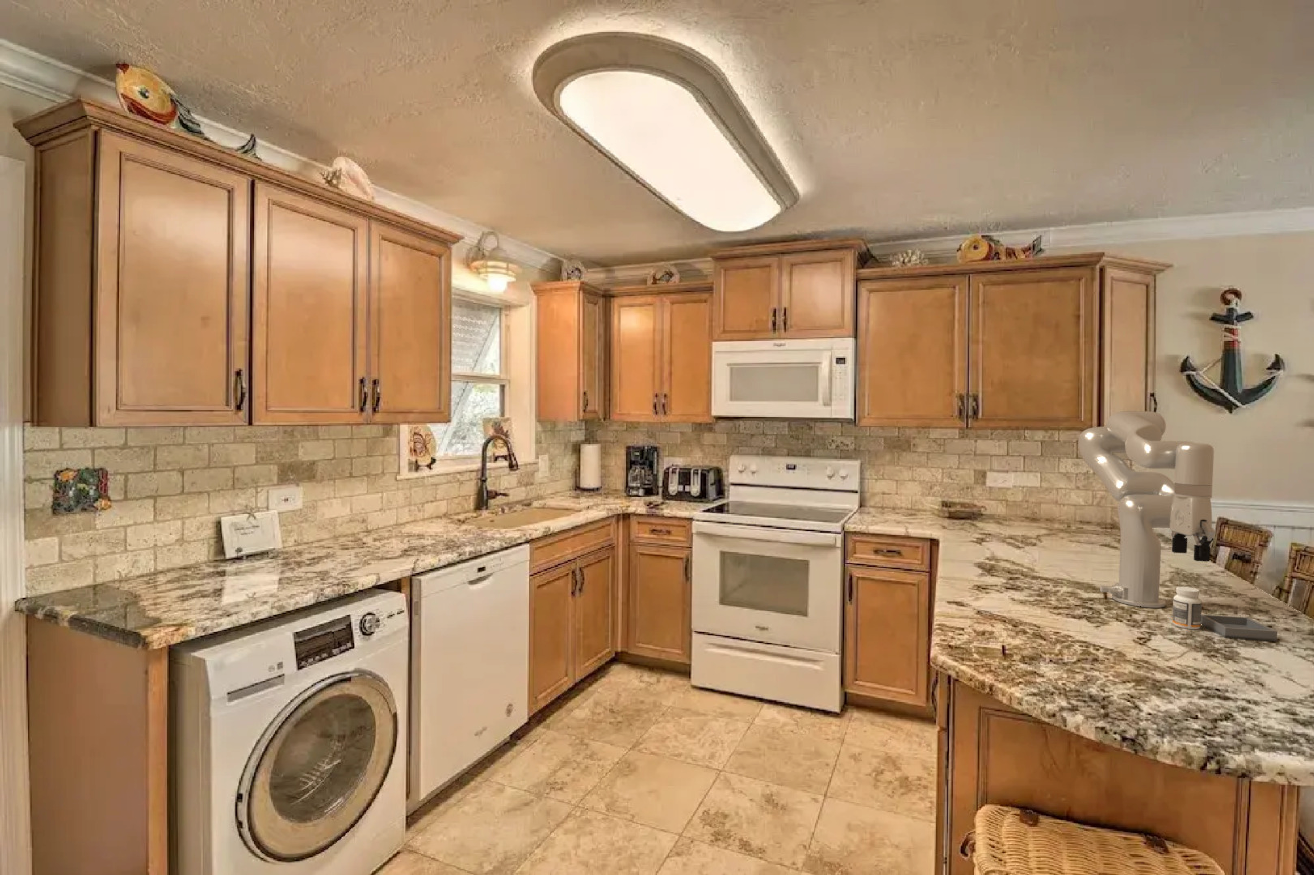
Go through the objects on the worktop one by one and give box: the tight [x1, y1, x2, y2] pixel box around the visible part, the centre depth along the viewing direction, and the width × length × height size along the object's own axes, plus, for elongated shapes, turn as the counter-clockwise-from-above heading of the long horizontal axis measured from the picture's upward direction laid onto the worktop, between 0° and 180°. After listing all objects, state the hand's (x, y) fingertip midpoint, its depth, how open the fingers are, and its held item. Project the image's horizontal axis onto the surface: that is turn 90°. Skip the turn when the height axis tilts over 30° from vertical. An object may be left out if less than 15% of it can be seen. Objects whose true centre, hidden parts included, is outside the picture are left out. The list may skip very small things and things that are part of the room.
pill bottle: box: [1172, 586, 1203, 630], centre depth 167 cm, size 6×6×10 cm
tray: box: [1201, 613, 1278, 642], centre depth 163 cm, size 11×11×2 cm
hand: (1190, 556), depth 166 cm, fingers open, 9 cm apart
